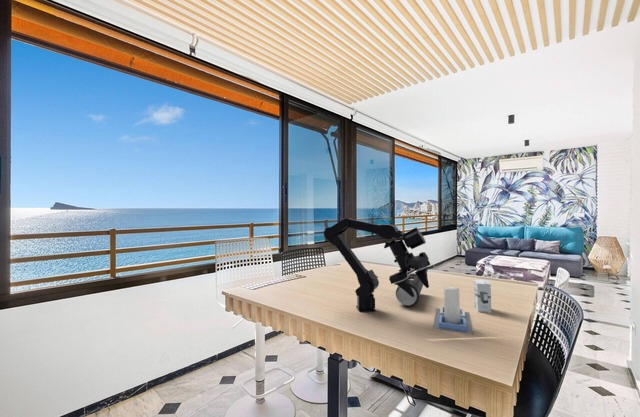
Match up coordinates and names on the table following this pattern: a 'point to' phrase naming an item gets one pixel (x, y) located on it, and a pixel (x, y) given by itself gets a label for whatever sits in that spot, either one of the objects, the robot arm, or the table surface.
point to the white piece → (452, 305)
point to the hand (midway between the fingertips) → (420, 292)
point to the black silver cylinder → (416, 288)
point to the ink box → (482, 296)
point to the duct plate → (462, 328)
